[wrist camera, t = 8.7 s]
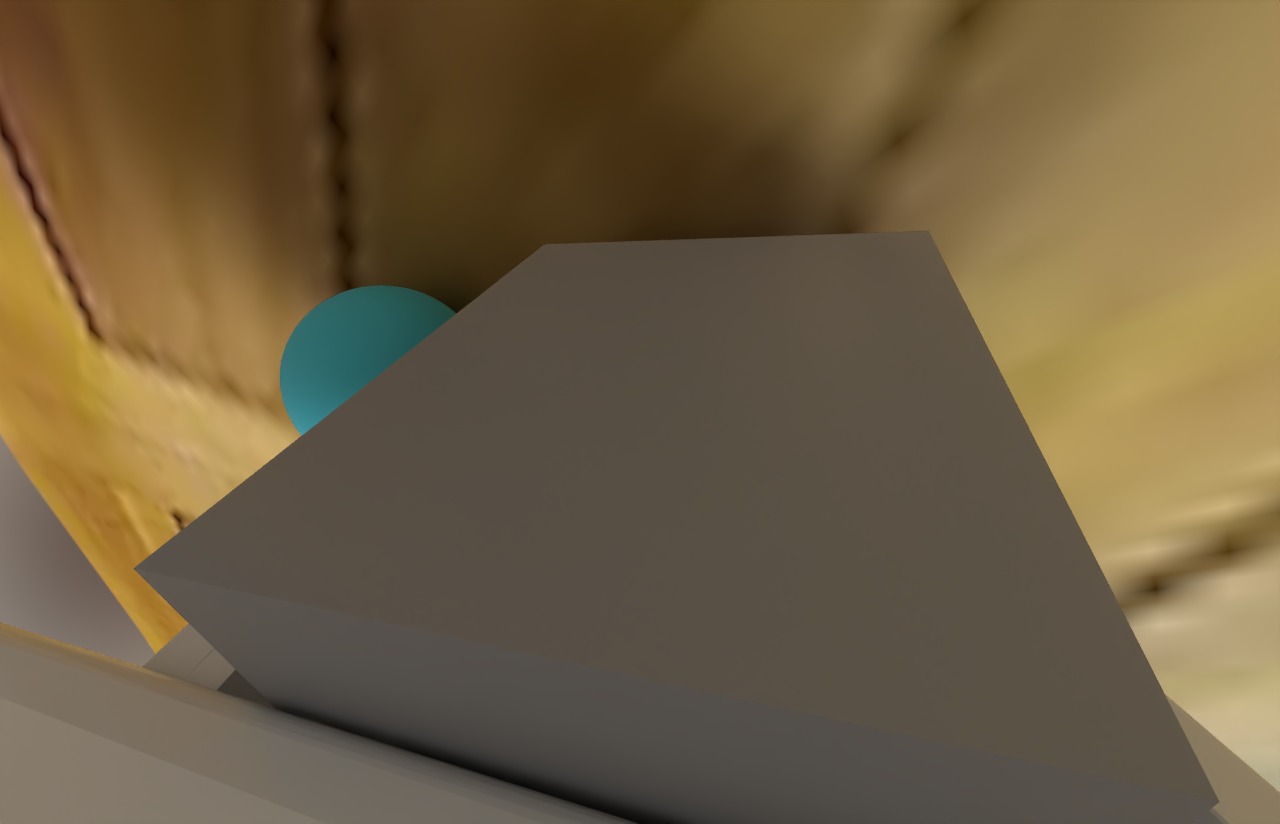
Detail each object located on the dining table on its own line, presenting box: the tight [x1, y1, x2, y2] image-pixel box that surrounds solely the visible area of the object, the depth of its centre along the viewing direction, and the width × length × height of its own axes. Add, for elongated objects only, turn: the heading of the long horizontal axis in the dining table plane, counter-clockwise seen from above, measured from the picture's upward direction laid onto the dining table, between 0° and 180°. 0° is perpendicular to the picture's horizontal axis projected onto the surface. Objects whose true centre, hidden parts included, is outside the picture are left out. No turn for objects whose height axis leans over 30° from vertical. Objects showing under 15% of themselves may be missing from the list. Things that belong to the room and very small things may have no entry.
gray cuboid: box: [134, 231, 1219, 824], centre depth 9 cm, size 8×8×9 cm
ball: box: [280, 285, 457, 435], centre depth 14 cm, size 5×5×5 cm
